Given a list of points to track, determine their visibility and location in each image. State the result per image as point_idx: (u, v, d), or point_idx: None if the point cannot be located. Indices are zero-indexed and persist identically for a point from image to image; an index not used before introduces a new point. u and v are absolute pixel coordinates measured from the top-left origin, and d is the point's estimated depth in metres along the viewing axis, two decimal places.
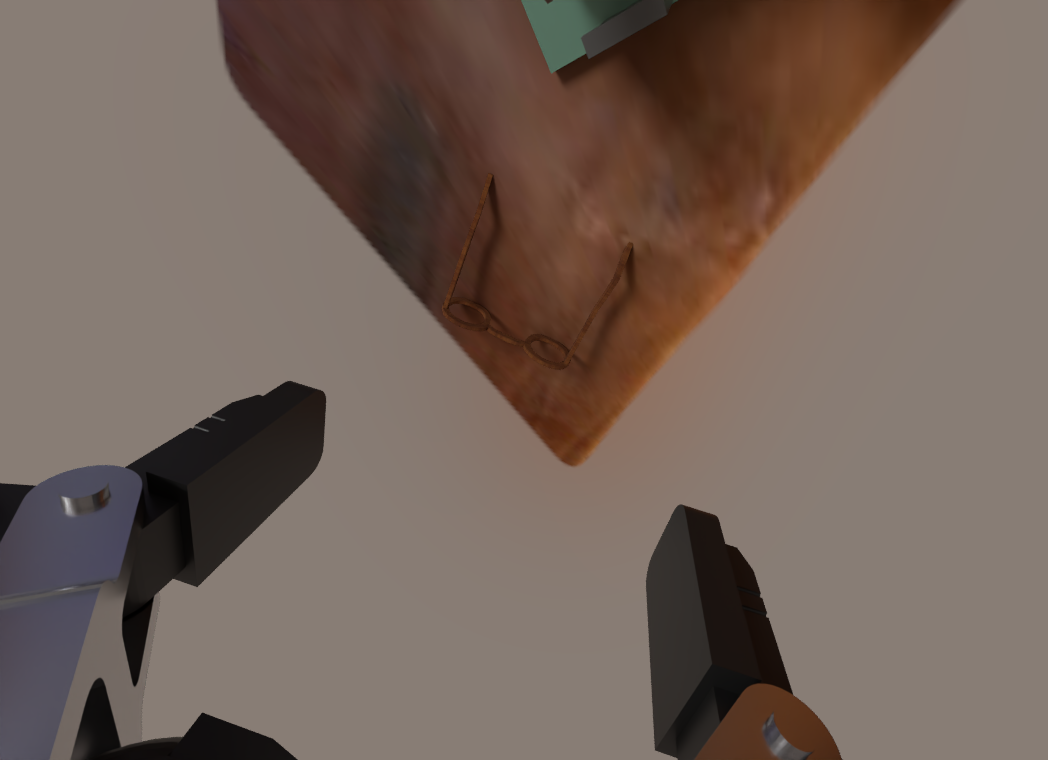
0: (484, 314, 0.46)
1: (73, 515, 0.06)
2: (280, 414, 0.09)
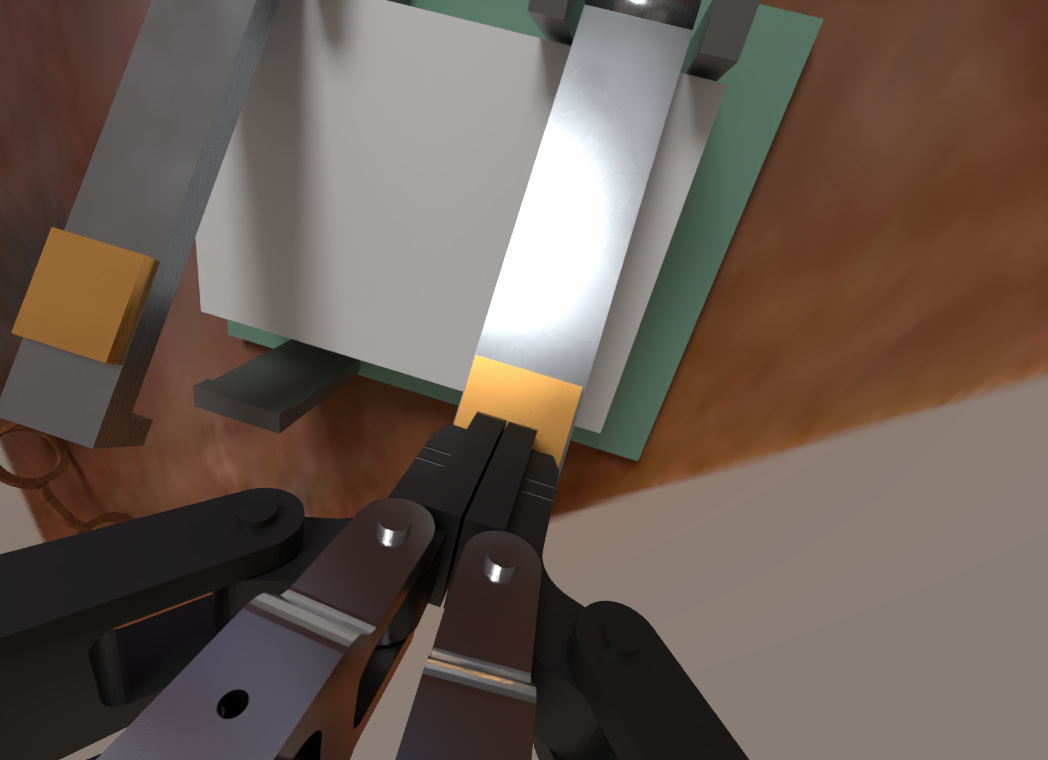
0: (58, 462, 0.35)
1: (399, 549, 0.07)
2: (491, 445, 0.10)
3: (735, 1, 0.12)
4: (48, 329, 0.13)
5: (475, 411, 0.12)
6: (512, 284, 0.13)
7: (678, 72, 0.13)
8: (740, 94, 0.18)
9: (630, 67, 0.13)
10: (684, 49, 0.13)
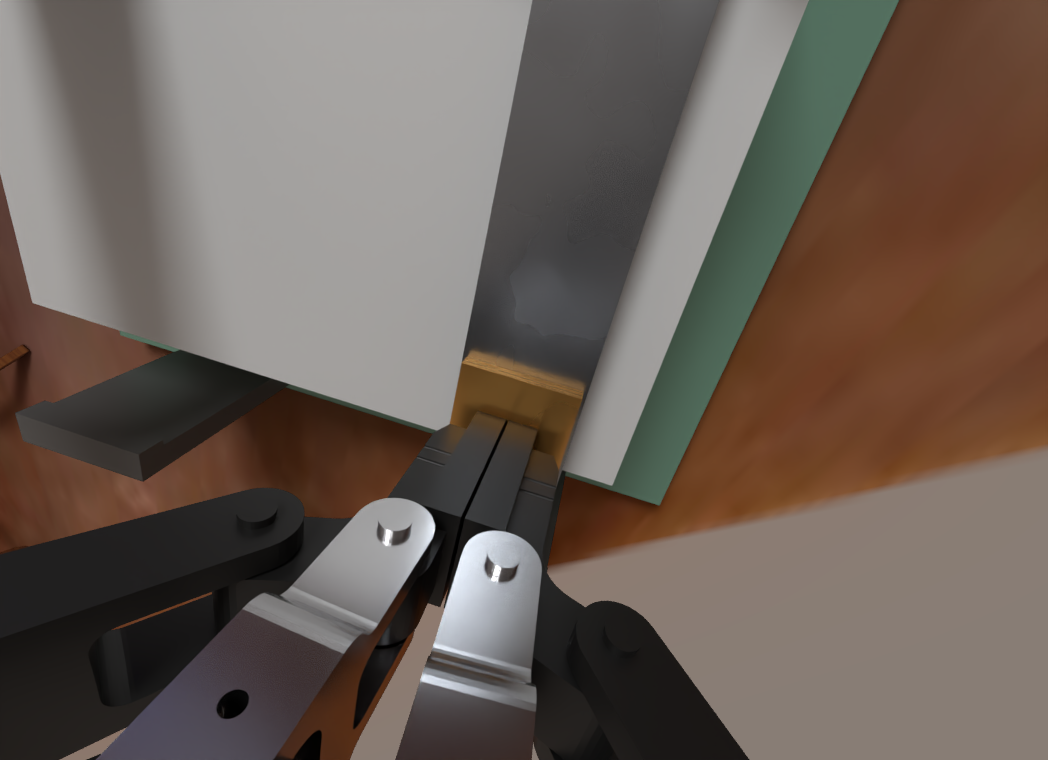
0: None
1: (399, 549, 0.07)
2: (491, 445, 0.10)
3: None
4: None
5: (468, 419, 0.11)
6: (497, 273, 0.10)
7: None
8: None
9: None
10: None
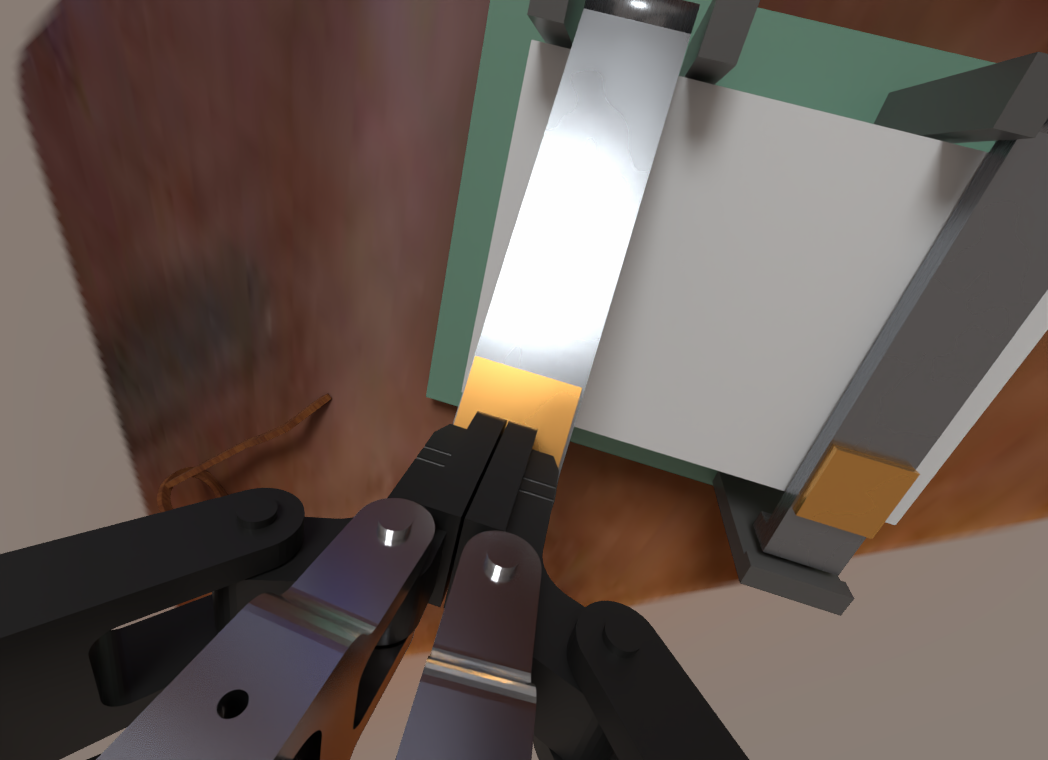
0: None
1: (399, 549, 0.07)
2: (491, 445, 0.10)
3: None
4: None
5: (830, 484, 0.17)
6: (874, 395, 0.16)
7: None
8: None
9: None
10: None
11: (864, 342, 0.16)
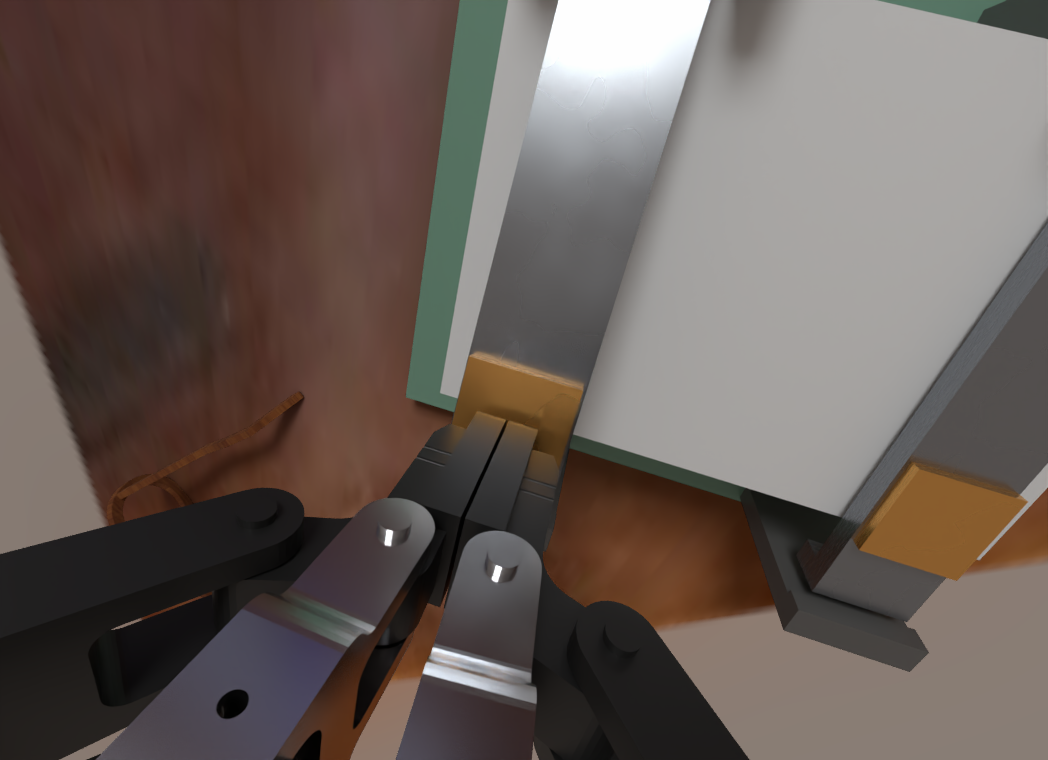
0: None
1: (399, 549, 0.07)
2: (491, 445, 0.10)
3: None
4: None
5: (906, 513, 0.13)
6: (971, 399, 0.12)
7: None
8: None
9: None
10: None
11: (956, 330, 0.12)
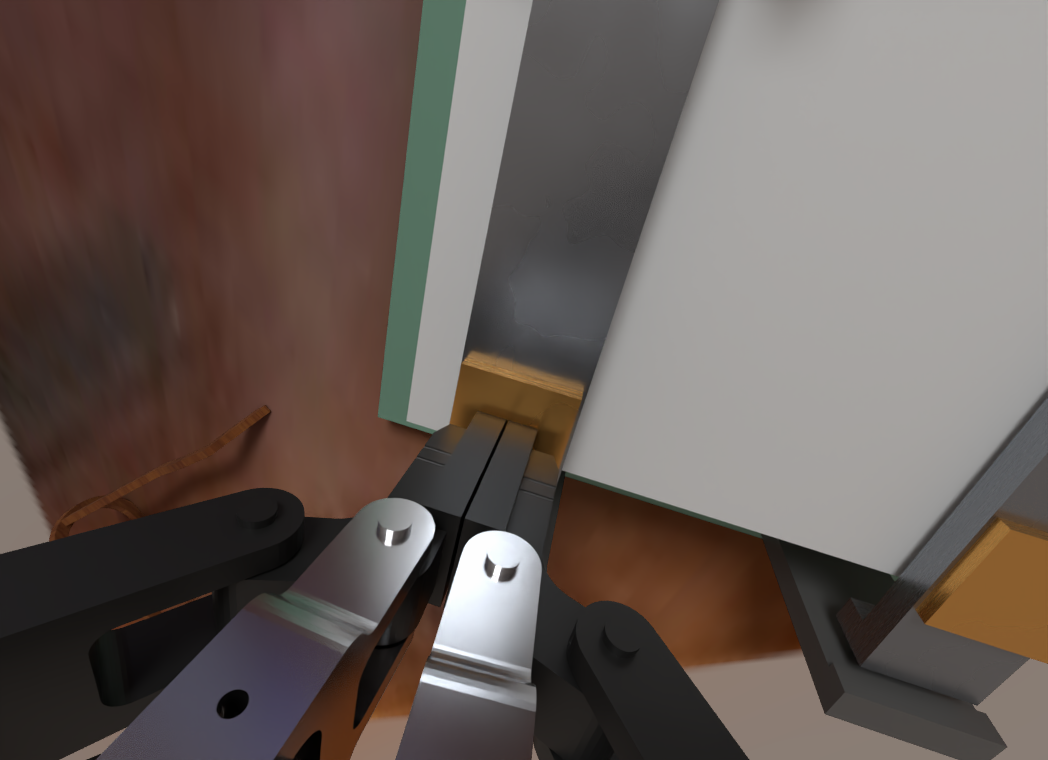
0: None
1: (399, 549, 0.07)
2: (491, 445, 0.10)
3: None
4: None
5: (990, 582, 0.10)
6: None
7: None
8: None
9: None
10: None
11: None
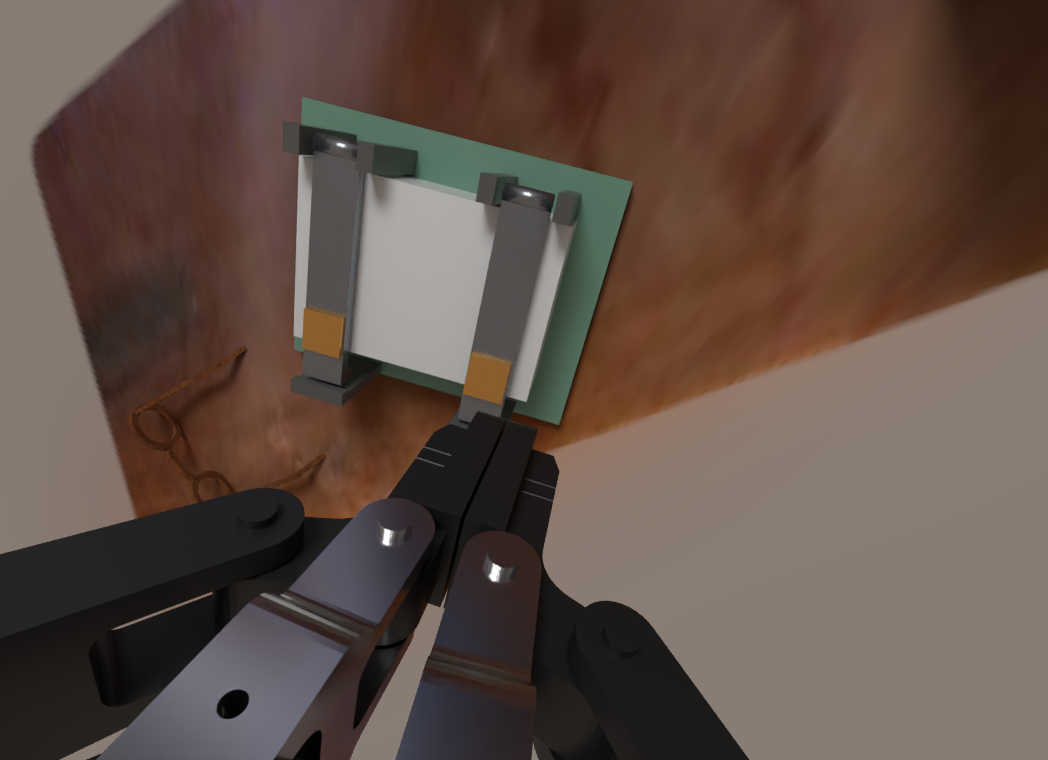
0: (174, 433, 0.48)
1: (399, 549, 0.07)
2: (491, 445, 0.10)
3: (564, 202, 0.27)
4: (314, 346, 0.34)
5: (472, 374, 0.33)
6: (482, 325, 0.32)
7: (544, 233, 0.29)
8: (596, 216, 0.34)
9: (523, 230, 0.29)
10: (546, 221, 0.29)
11: None
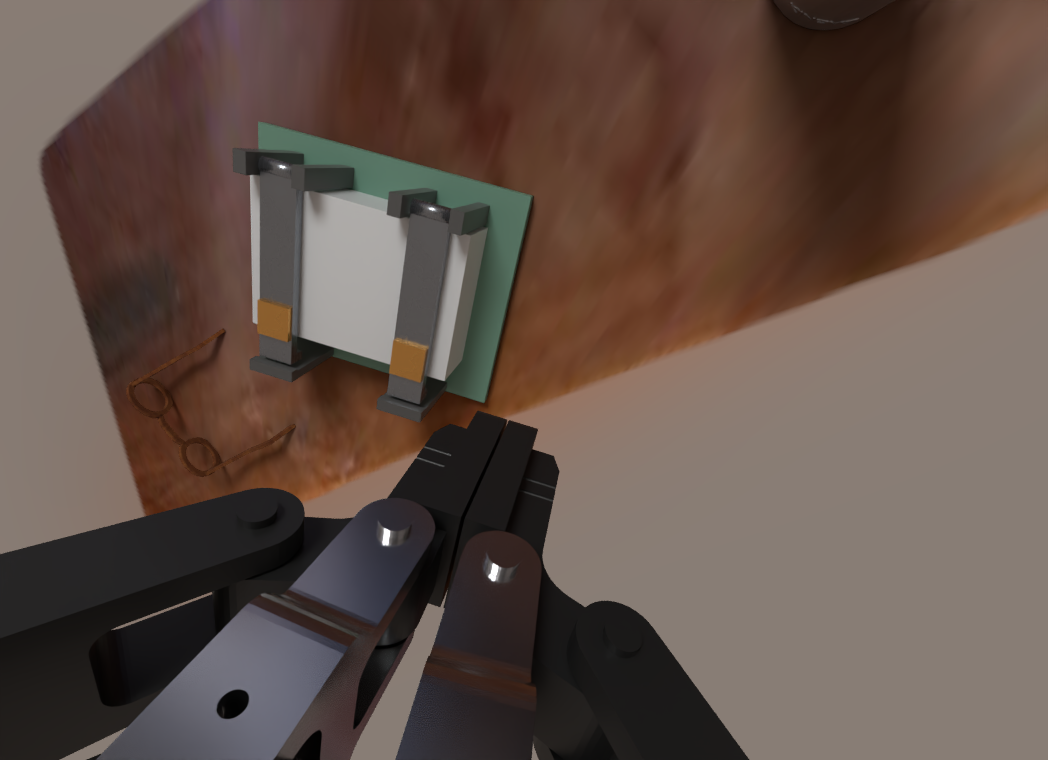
0: (167, 403, 0.55)
1: (399, 549, 0.07)
2: (491, 445, 0.10)
3: (456, 217, 0.33)
4: (267, 331, 0.41)
5: (395, 357, 0.39)
6: (401, 316, 0.38)
7: (445, 241, 0.35)
8: (503, 224, 0.40)
9: (429, 238, 0.35)
10: None
11: None
